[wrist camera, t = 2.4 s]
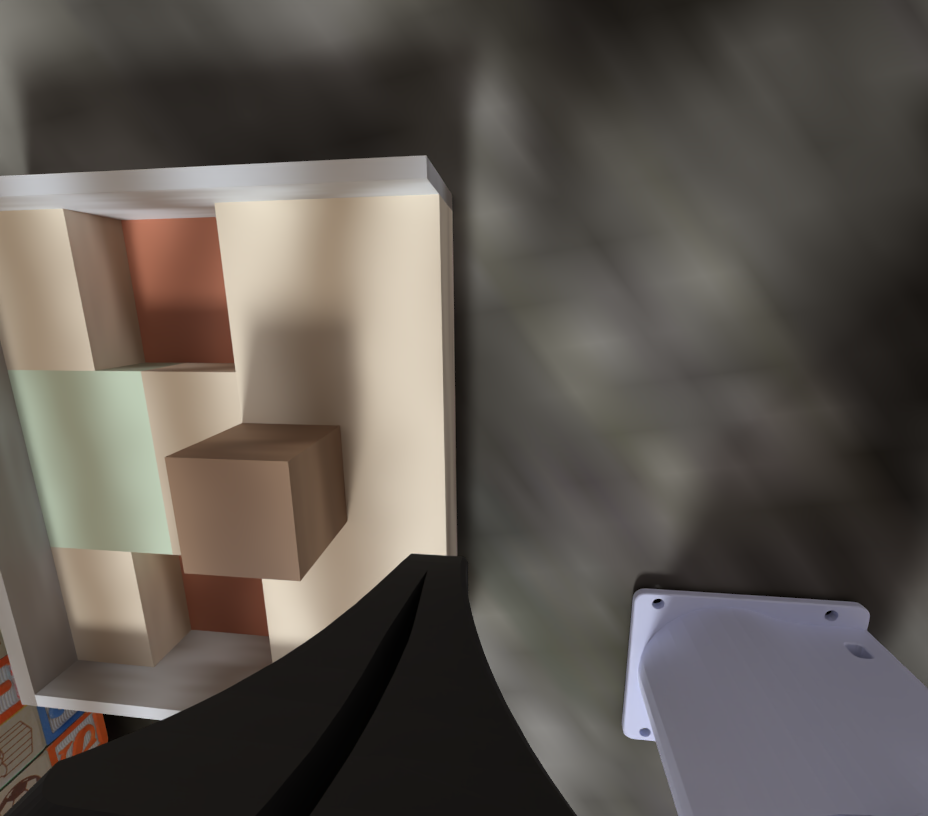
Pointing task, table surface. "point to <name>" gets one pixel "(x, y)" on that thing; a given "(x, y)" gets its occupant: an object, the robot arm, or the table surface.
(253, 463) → the walnut block
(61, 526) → the board
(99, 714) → the stack of blocks
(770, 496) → the table surface
